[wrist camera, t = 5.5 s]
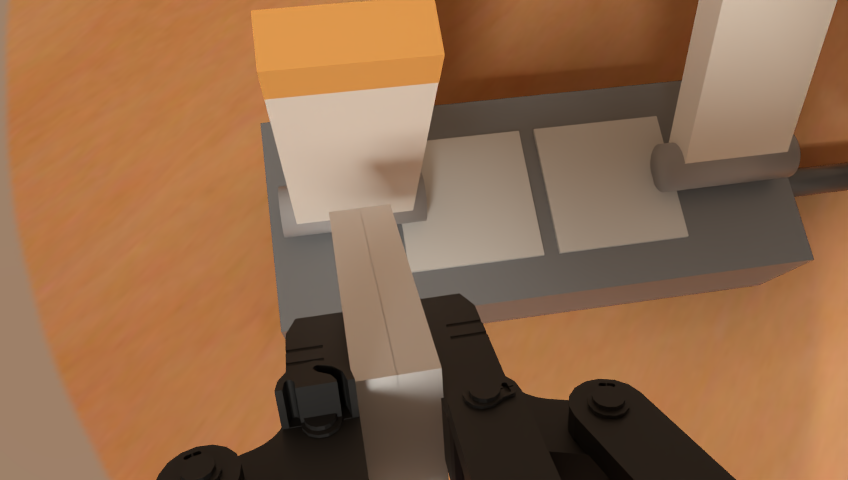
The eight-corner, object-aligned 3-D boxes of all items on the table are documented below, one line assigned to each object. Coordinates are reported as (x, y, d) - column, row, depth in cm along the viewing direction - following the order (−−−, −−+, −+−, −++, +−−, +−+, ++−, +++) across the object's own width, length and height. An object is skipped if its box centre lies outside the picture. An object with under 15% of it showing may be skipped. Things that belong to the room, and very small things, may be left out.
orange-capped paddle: (417, 181, 27) (454, -13, 16) (424, 227, 27) (468, 58, 16) (281, 197, 27) (226, 7, 16) (286, 244, 26) (233, 80, 15)
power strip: (820, 105, 35) (879, 58, 31) (876, 268, 32) (947, 240, 28) (272, 165, 32) (260, 121, 28) (291, 350, 29) (281, 331, 25)
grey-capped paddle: (766, 161, 29) (868, -168, 22) (791, 186, 28) (909, -157, 21) (647, 175, 29) (712, -159, 22) (666, 201, 27) (744, -147, 20)
